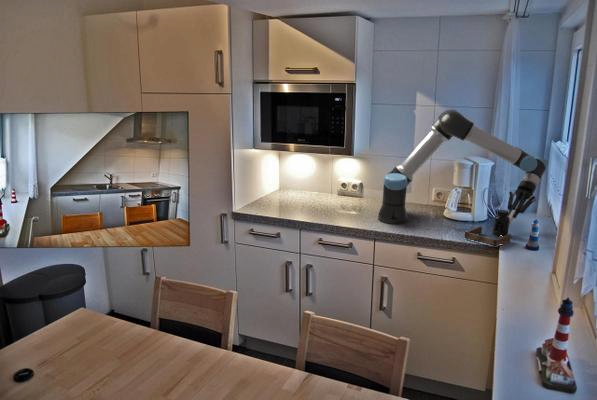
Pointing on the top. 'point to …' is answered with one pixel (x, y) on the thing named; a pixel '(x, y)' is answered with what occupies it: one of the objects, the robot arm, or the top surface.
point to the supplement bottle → (501, 223)
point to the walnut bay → (473, 236)
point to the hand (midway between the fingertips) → (508, 222)
